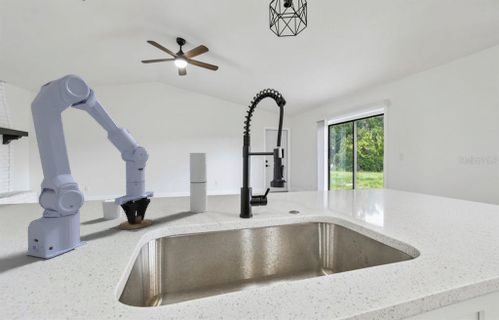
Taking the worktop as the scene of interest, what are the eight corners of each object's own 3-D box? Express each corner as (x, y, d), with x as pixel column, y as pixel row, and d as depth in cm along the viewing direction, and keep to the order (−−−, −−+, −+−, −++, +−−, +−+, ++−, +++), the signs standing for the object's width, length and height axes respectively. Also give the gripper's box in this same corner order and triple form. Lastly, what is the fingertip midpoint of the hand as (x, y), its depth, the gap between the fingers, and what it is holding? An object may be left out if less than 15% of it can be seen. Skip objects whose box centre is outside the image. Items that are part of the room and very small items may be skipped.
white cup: (98, 219, 82) (97, 201, 82) (116, 215, 88) (116, 197, 88) (108, 222, 79) (108, 202, 79) (127, 217, 85) (126, 199, 85)
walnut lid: (136, 230, 68) (136, 221, 68) (111, 228, 71) (111, 219, 71) (158, 221, 78) (158, 213, 78) (135, 219, 81) (135, 211, 81)
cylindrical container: (186, 212, 92) (186, 152, 92) (195, 208, 99) (195, 153, 98) (202, 213, 90) (201, 152, 90) (210, 209, 97) (209, 153, 96)
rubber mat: (136, 232, 67) (136, 231, 67) (109, 229, 71) (109, 228, 71) (160, 222, 78) (160, 221, 78) (136, 220, 81) (136, 219, 81)
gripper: (127, 184, 66) (127, 229, 66) (160, 179, 80) (160, 217, 80) (109, 184, 68) (109, 227, 68) (144, 179, 82) (144, 215, 82)
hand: (136, 221), depth 74 cm, fingers closed on walnut lid, 3 cm apart
